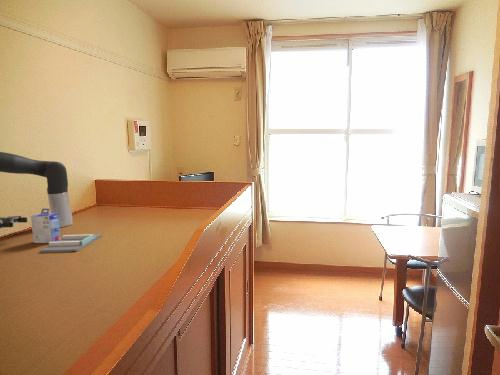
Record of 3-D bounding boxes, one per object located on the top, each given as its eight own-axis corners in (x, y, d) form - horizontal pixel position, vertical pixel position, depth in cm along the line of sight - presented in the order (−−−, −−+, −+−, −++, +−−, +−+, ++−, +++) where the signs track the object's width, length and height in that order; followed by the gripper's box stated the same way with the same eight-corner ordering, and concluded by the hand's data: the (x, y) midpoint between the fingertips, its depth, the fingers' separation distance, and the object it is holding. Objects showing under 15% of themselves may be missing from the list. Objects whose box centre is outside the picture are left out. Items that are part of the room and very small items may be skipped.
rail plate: (69, 237, 157) (69, 232, 157) (101, 236, 156) (101, 231, 156) (40, 252, 138) (39, 246, 137) (76, 251, 137) (76, 245, 136)
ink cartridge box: (62, 239, 155) (57, 207, 153) (53, 243, 149) (48, 210, 147) (43, 239, 157) (38, 208, 155) (33, 243, 151) (28, 210, 149)
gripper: (-31, 218, 146) (6, 217, 145) (-4, 211, 160) (30, 210, 159) (-28, 235, 147) (8, 235, 146) (-1, 227, 161) (32, 226, 160)
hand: (19, 222), depth 152 cm, fingers open, 8 cm apart
